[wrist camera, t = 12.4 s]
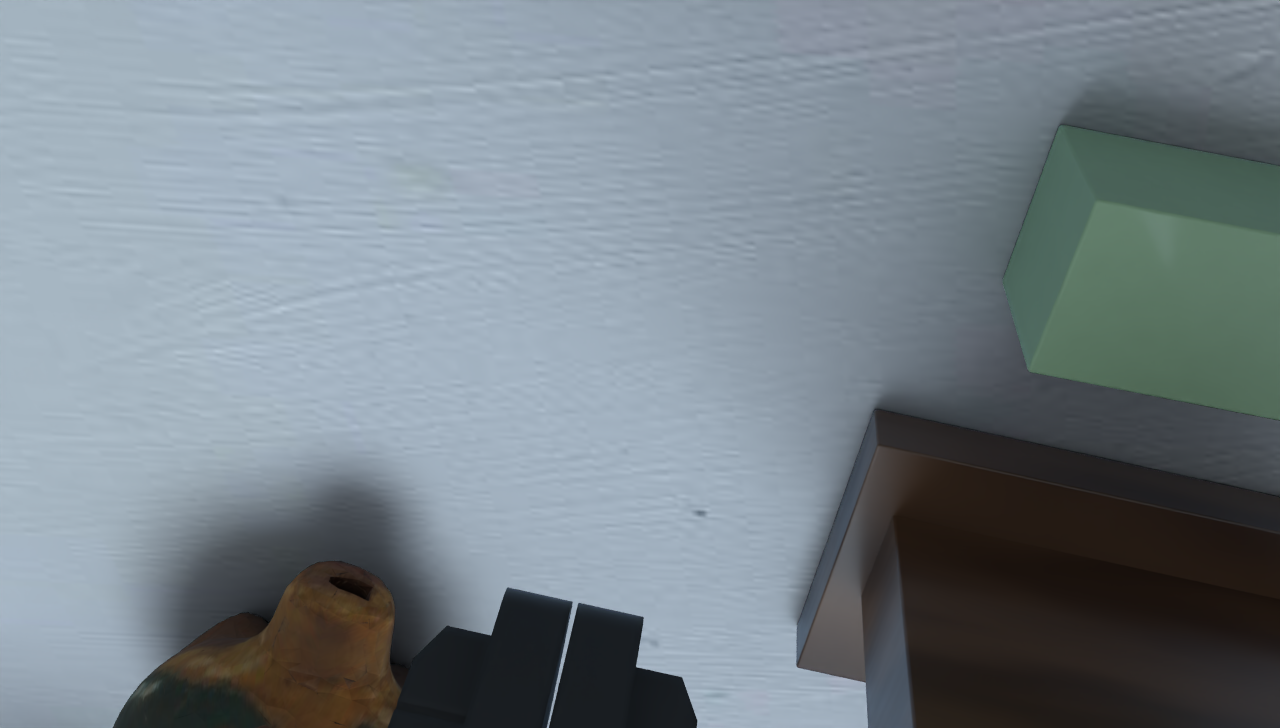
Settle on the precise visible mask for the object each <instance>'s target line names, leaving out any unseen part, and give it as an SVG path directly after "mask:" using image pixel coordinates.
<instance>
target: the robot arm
mask: <svg viewBox="0 0 1280 728" xmlns="http://www.w3.org/2000/svg"><path fill="white" fill-rule="evenodd" d="M572 603H573V602H571V601H567V600H562V599H558V598H553V597H548V596H544V595H539V594H535V593H530V592H526V591H521V590H517V589H512V588H507V589H506V592H505V594H504V597H503V600H502V603H501V606H500V610H499V613H498V616H497V619H496V622H495V626H494V629H493V632H492V635H491V636H490V635H486V634H481V633H477V632H472V631H468V630H463V629H459V628H454V627H450V626H446V627H445V628H444V629H443V630H442V631H441V632H440V633H439V634H438V635H437V636H436V637H435V638H434V639H433V640H432V641H431V642H430V643H429V644H428V645H427V646H426V647H425V648H424V649H423V650H422V651H421V652H420V653H419V654H418V655H417V656H416V657H415V658H414V659H413V661H412V664H411V667H410V669H409V672H408V675H407V677H406V680H405V683H404V685H403V688H402V691H401V693H400V696H399V698H398V701H397V706H396V709H394V712H393V714H392V717H391V720H390V722H389V725H388V728H547V724H548V720H549V715H550V711H551V706H552V701H553V697H554V692H555V687H556V682H557V677H558V672H559V667H560V662H561V658H562V653H563V648H564V643H565V638H566V633H567V628H568V623H569V619H570V614H571V609H572ZM643 619H644V618H643V617H641V616H636V615H632V614H627V613H623V612H618V611H613V610H609V609H604V608H600V607H595V606H591V605H586V604H582V603H578V607H577V611H576V615H575V619H574V624H573V628H572V632H571V636H570V641H569V645H568V649H567V653H566V658H565V662H564V666H563V670H562V675H561V679H560V683H559V687H558V692H557V696H556V700H555V704H554V709H553V713H552V717H551V721H550V726H549V728H697V719H696V716H695V713H694V710H693V707H692V704H691V702H690V699H689V696H688V693H687V690H686V687H685V685H684V682H683V679H682V677H678V676H673V675H669V674H664V673H660V672H655V671H651V670H646V669H642V668H637V667H636V663H637V657H638V651H639V645H640V639H641V633H642V627H643Z"/></svg>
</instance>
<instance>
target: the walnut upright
mask: <svg viewBox="0 0 1280 728" xmlns="http://www.w3.org/2000/svg"><path fill="white" fill-rule="evenodd" d="M796 665H797V667H798V668H802V669H807V670H811V671H816V672H820V673H825V674H830V675H834V676H839V677H843V678H848V679H852V680H857V681H862V682H866V695H867V713H868V728H1280V497H1277V496H1272V495H1268V494H1263V493H1259V492H1254V491H1249V490H1245V489H1240V488H1236V487H1231V486H1226V485H1222V484H1217V483H1213V482H1208V481H1204V480H1199V479H1194V478H1190V477H1185V476H1181V475H1176V474H1171V473H1167V472H1162V471H1158V470H1153V469H1149V468H1144V467H1139V466H1135V465H1130V464H1126V463H1121V462H1116V461H1112V460H1107V459H1103V458H1098V457H1094V456H1089V455H1084V454H1080V453H1075V452H1071V451H1066V450H1061V449H1057V448H1052V447H1048V446H1043V445H1039V444H1034V443H1029V442H1025V441H1020V440H1016V439H1011V438H1006V437H1002V436H997V435H993V434H988V433H984V432H979V431H974V430H970V429H965V428H961V427H956V426H951V425H947V424H942V423H938V422H933V421H929V420H924V419H919V418H915V417H910V416H906V415H901V414H896V413H892V412H887V411H883V410H878V409H875V410H874V412H873V414H872V417H871V420H870V423H869V426H868V429H867V431H866V434H865V437H864V440H863V443H862V445H861V448H860V451H859V454H858V457H857V459H856V462H855V465H854V468H853V471H852V474H851V476H850V479H849V482H848V485H847V488H846V490H845V493H844V496H843V499H842V502H841V504H840V507H839V510H838V513H837V516H836V519H835V521H834V524H833V527H832V530H831V533H830V535H829V538H828V541H827V544H826V547H825V549H824V552H823V555H822V558H821V561H820V564H819V566H818V569H817V572H816V575H815V578H814V580H813V583H812V586H811V589H810V592H809V594H808V597H807V600H806V603H805V606H804V609H803V611H802V614H801V617H800V620H799V623H798V625H797V659H796Z"/></svg>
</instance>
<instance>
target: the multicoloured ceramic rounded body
mask: <svg viewBox="0 0 1280 728" xmlns="http://www.w3.org/2000/svg"><path fill="white" fill-rule="evenodd" d="M394 624H395V606H394V601H393V598H392V595H391V592H390V591H389V590H388V588H387V587H386V585H385V584H384V583H383V581H382V580H381V579H380V578H378V577H377V576H375V575H373V574H372V573H370V572H368V571H366V570H364V569H362V568H360V567H357V566H354V565H351V564H348V563H345V562H342V561H327V562H318V563H316V564H313V565H311V566H309V567H307V568H306V569H305V570H303V571H302V572H301V573H300V574H299V575H298V576H297V577H296V578H295V579H294V580H293V581H292V582H291V583H290V584H289V585H288V586H287V587H286V589H285V591H284V594H283V596H282V598H281V600H280V602H279V604H278V606H277V609H276V611H275V614H274V616H273V618H272V619H271V621H270V623H269V624H268V623H267V622H266V621H265V620H264V619H263V618H262V617H259V616H257V615H254V614H251V613H249V612H247V613H240V614H238V615H236V616H232V617H229V618H228V619H226V620H224V621H222V622H220V623H218V624H217V625H215V626H214V627H212V628H211V629H209V630H208V631H206V632H205V633H204V634H202V635H201V636H199V637H198V638H197V639H196V640H194V641H193V642H192V643H191V644H189V645H188V646H187V647H185V648H184V649H182V650H181V651H180V652H179V653H178V654H176V655H174V656H173V657H171V658H170V659H168V660H167V661H165V662H164V663H163V664H162V665H160V666H159V667H158V668H157V669H155V670H154V671H153V672H152V673H151V674H150V675H149V676H148V677H147V678H146V679H145V680H144V681H143V682H142V683H141V684H140V685H139V686H138V688H137V689H136V690H135V691H134V693H133V694H132V695H131V696H130V698H129V699H128V701H127V702H126V704H125V705H124V707H123V709H122V710H121V712H120V714H119V716H118V718H117V720H116V722H115V724H114V727H113V728H388V725H389V722H390V720H391V717H392V714H393V712H394V709H396V706H397V701H398V698H399V696H400V693H401V691H402V688H403V685H404V683H405V680H406V677H407V675H408V672H409V669H408V668H406V667H404V666H402V665H400V664H391V665H390V650H391V643H392V636H393V630H394Z"/></svg>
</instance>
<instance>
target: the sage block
mask: <svg viewBox="0 0 1280 728" xmlns="http://www.w3.org/2000/svg"><path fill="white" fill-rule="evenodd" d="M1002 282H1003V286H1004V289H1005V293H1006V296H1007V300H1008V303H1009V307H1010V310H1011V314H1012V317H1013V320H1014V324H1015V327H1016V331H1017V334H1018V338H1019V341H1020V345H1021V348H1022V352H1023V355H1024V358H1025V362H1026V365H1027V369H1028V371H1029V372H1032V373H1037V374H1042V375H1047V376H1052V377H1057V378H1063V379H1068V380H1073V381H1078V382H1083V383H1088V384H1094V385H1099V386H1104V387H1109V388H1114V389H1119V390H1124V391H1130V392H1135V393H1140V394H1145V395H1150V396H1155V397H1161V398H1166V399H1171V400H1176V401H1181V402H1186V403H1191V404H1197V405H1202V406H1207V407H1212V408H1217V409H1222V410H1228V411H1233V412H1238V413H1243V414H1248V415H1253V416H1259V417H1264V418H1269V419H1274V420H1279V421H1280V166H1277V165H1271V164H1266V163H1261V162H1256V161H1250V160H1245V159H1240V158H1234V157H1229V156H1224V155H1219V154H1213V153H1208V152H1203V151H1198V150H1192V149H1187V148H1182V147H1177V146H1171V145H1166V144H1161V143H1155V142H1150V141H1145V140H1140V139H1134V138H1129V137H1124V136H1119V135H1113V134H1108V133H1103V132H1098V131H1092V130H1087V129H1082V128H1077V127H1071V126H1066V125H1060V126H1059V128H1058V130H1057V133H1056V136H1055V139H1054V141H1053V144H1052V147H1051V150H1050V152H1049V155H1048V158H1047V160H1046V163H1045V166H1044V169H1043V171H1042V174H1041V177H1040V180H1039V182H1038V185H1037V188H1036V190H1035V193H1034V196H1033V199H1032V201H1031V204H1030V207H1029V210H1028V212H1027V215H1026V218H1025V220H1024V223H1023V226H1022V229H1021V231H1020V234H1019V237H1018V239H1017V242H1016V245H1015V248H1014V250H1013V253H1012V256H1011V259H1010V261H1009V264H1008V267H1007V269H1006V272H1005V275H1004V278H1003V280H1002Z"/></svg>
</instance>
